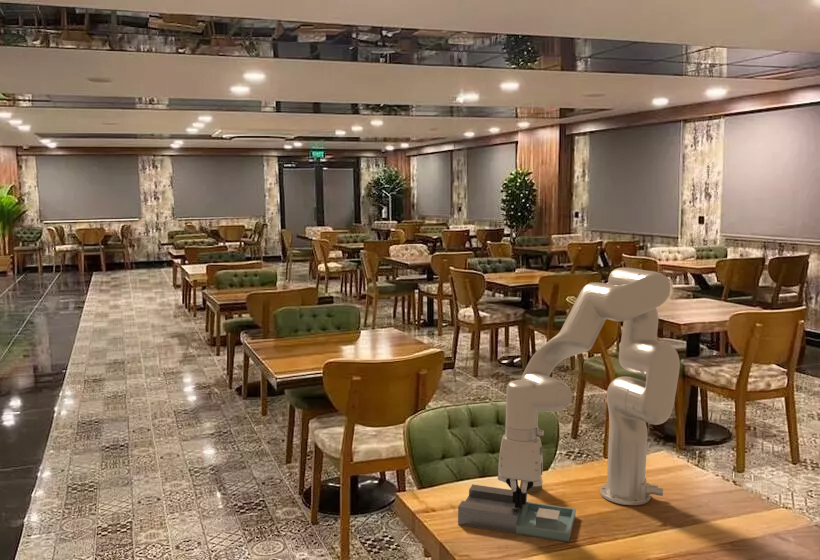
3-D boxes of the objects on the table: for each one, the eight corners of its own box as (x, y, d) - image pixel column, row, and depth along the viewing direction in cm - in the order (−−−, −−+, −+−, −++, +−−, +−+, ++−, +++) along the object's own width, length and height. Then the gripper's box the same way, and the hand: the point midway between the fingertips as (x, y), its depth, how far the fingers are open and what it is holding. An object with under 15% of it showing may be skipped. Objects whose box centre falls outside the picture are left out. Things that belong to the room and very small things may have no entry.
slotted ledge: (526, 509, 182) (527, 492, 181) (516, 533, 169) (516, 515, 168) (472, 501, 186) (472, 484, 186) (457, 524, 173) (458, 506, 172)
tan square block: (539, 507, 176) (538, 517, 176) (536, 516, 171) (535, 526, 172) (559, 510, 174) (559, 520, 175) (557, 519, 170) (557, 529, 170)
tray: (575, 516, 178) (575, 508, 178) (568, 542, 165) (569, 534, 165) (526, 509, 182) (526, 501, 182) (516, 533, 169) (516, 525, 168)
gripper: (555, 431, 174) (552, 504, 176) (493, 424, 179) (492, 495, 181) (550, 441, 167) (548, 517, 169) (486, 433, 172) (485, 507, 174)
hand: (519, 506), depth 175 cm, fingers closed
